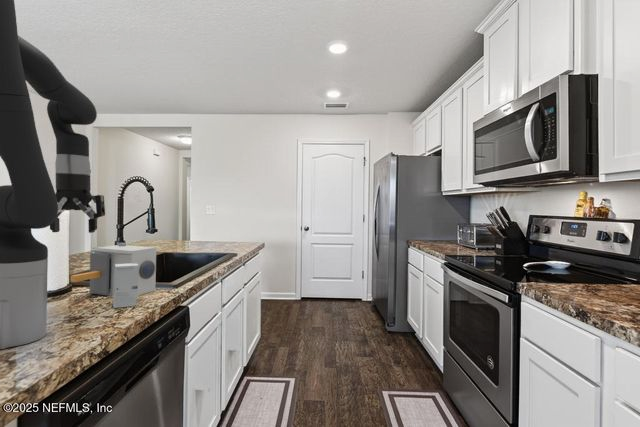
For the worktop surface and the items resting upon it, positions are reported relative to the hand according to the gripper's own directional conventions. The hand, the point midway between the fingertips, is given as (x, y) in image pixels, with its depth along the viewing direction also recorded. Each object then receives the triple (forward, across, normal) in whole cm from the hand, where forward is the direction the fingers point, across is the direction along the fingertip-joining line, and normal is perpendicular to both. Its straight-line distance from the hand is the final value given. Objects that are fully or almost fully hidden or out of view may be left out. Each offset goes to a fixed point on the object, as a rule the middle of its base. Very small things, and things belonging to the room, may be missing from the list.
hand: (74, 232), depth 88 cm
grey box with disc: (+23, +6, +19) cm, 31 cm away
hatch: (+22, -2, +12) cm, 25 cm away
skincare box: (+22, +12, +3) cm, 25 cm away
